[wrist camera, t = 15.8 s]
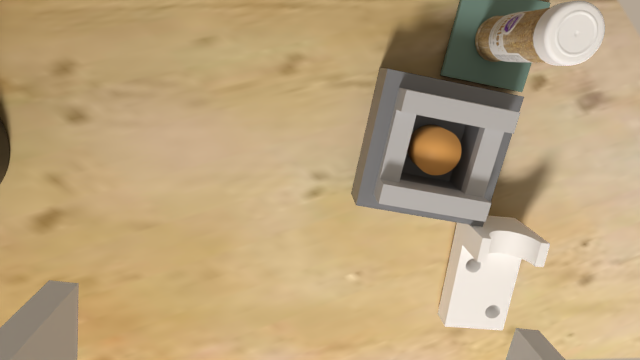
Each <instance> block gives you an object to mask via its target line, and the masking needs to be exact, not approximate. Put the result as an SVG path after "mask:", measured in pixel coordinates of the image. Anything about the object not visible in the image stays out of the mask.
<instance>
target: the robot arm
mask: <svg viewBox="0 0 640 360" xmlns="http://www.w3.org/2000/svg"><path fill="white" fill-rule="evenodd" d="M8 162H9V144H8V138H7V134H6V131H5V128H4V126H3V123H2V121H1V119H0V183H1V182H2V180H3V178H4V176H5V173H6V170H7V167H8ZM77 345H78V283H69V282H60V281H50V280H49V281H48V282H47V283H46V284H45V285H44V286H43V287H42V288H41V289H40V290H39V291H38V292H37V293H36V294H35V295H34V296H33V297H32V298H31V299H30V300H29V301H28V302H26V303H25V304H24V305H23V306H22V307H21V308H20V309H19V310H18V311H17V312H16V313H15V314H14V315H13V316H12V317H11V318H10V319H9V320H8V321H7V322H6V323H5V324H4V325H3V326H2V327H1V328H0V360H77ZM506 360H565V359H564V358H563V357H562V356H561V354H560V353H559V352H558V351H557V350H556V349H555V348H554V347H553V346H552V345H551V343H550V342H549V341H548V340H547V339H546V338H545V337H544V336H543V335H542V334H541V333H540V331H539V330H529V329H520V328H516V330H515V333H514V336H513V339H512V342H511V345H510V348H509V351H508V354H507V357H506Z"/></svg>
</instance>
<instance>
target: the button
mask: <svg viewBox="0 0 640 360" xmlns="http://www.w3.org/2000/svg"><path fill="white" fill-rule="evenodd" d="M407 151H408V155H409V157H410V159H411V161H412V162H413V163H414V164H415V165H417V166H418V167H419V168H420V169H421V170H422V171H423V172H425V173H427V174H430V175H442V174H445V173H448V172H449V171H451V170H452V169H453V168H454V167H455V166H456V165H457V163H458V162H459V160H460V157H461V151H462V150H461V144H460V141H459V139H458V138H457V136H456V135H455V134H454V133H452V132H450V131H448V130H446V129H444V128H442V127H440V126H438V125H432V124H431V125H424V126H422V127H420V128H418V129H417V130H415V131H414V132H413V134H412V135H411V138H410V142H409V146H408V150H407Z"/></svg>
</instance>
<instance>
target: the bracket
mask: <svg viewBox="0 0 640 360" xmlns="http://www.w3.org/2000/svg"><path fill="white" fill-rule="evenodd" d="M549 246H550V243H548V242H547V241H546V240H544V239H543V238H542V237H540V236H539V235H537V234H536V233H535V232H533V231H532V230H531V229H529V228H528V227H527V226H525V225H524V224H523V223H521V222H520V221H519V220H517V219H516V218H512V217H500V216H489V215H488V216H487V219H486V222H484V224H483V227H481V226H475V225H469V224H463V223H457V225H456V229H455V234H454V239H453V244H452V248H451V253H450V258H449V263H448V267H447V272H446V277H445V282H444V286H443V291H442V296H441V300H440V305H439V310H438V315H439V317H440V319H441V321H442V322H443V324H444V326H446V327H461V328H476V329H491V330H503V328H504V324H505V320H506V316H507V312H508V308H509V305H510V301H511V297H512V293H513V289H514V286H515V282H516V278H517V274H518V270H519V266H520V263H521V259H523V260H526V261H528V262H529V263H531V264H533V265H534V266H537V267H544V264H545V260H546V257H547V253H548V249H549Z"/></svg>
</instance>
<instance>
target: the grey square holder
mask: <svg viewBox="0 0 640 360" xmlns="http://www.w3.org/2000/svg"><path fill="white" fill-rule="evenodd" d="M523 98H524V97H522V96H517V95H513V94H508V93H503V92H498V91H493V90H488V89H484V88H479V87H474V86H469V85H464V84H459V83H454V82H450V81H445V80H440V79H435V78H430V77H425V76H421V75H416V74H411V73H406V72H401V71H396V70H392V69H386V68H380V69H379V73H378V78H377V82H376V86H375V91H374V95H373V100H372V104H371V108H370V113H369V117H368V122H367V126H366V130H365V135H364V139H363V144H362V148H361V153H360V157H359V161H358V166H357V170H356V175H355V179H354V183H353V188H352V192H351V194H352V197H353V199H354V202H355V204H356V205H358V206H364V207H370V208H375V209H381V210H387V211H393V212H399V213H405V214H411V215H416V216H422V217H428V218H434V219H440V220H446V221H452V222H457V223H463V224H469V225H475V226H481V227H483V224H484V222H486V219H487V216H488V212H489V209H490V206H491V203H490V202H491V199H492V196H493V193H494V189H495V186H496V183H497V180H498V177H499V174H500V171H501V167H502V164H503V161H504V158H505V155H506V152H507V149H508V146H509V142H510V139H511V136H512V134H514V131H515V128H516V125H517V122H518V119H519V115H520V113H519V111H520V108H521V105H522V102H523ZM431 124H432V125H438V126H440V127H442V128H444V129H446V130H448V131H450V132H452V133H454V134H455V135H456V136H457V138H458V139H459V141H460V144H461V150H462V151H461V157H460V160H459V162H458V163H457V165H456V166H455V167H454V168H453V169H452V170H451V171H449V172H448V173H445V174H442V175H430V174H427V173H425V172H423V171H422V170H421V169H420V168H419V167H418V166H417V165H415V164H414V163H413V162H412V161H411V159H410V157H409V155H408V151H407V150H408V146H409V142H410V138H411V135H412V134H413V132H414V131H415V130H417V129H418V128H420V127H422V126H424V125H431Z"/></svg>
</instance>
